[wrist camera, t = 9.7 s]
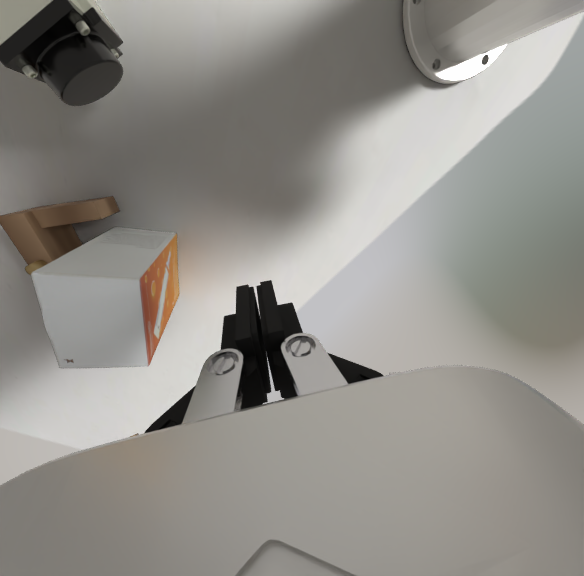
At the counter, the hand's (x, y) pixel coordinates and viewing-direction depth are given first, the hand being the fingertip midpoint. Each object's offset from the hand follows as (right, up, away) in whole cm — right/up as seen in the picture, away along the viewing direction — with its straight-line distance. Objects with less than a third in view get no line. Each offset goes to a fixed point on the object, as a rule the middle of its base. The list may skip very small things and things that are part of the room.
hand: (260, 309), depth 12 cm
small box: (-15, +4, +17) cm, 23 cm away
